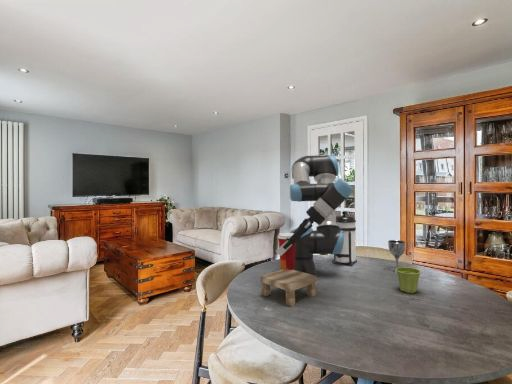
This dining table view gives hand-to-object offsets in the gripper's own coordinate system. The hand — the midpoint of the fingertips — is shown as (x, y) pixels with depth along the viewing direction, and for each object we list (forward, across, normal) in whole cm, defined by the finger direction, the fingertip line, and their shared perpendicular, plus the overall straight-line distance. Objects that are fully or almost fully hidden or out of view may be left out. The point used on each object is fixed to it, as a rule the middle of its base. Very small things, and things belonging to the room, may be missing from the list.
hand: (279, 251), depth 117 cm
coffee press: (-9, +53, -34) cm, 64 cm away
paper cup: (+3, 0, -7) cm, 8 cm away
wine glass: (-27, +44, -52) cm, 73 cm away
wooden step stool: (+10, 0, -15) cm, 18 cm away
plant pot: (-24, +13, -50) cm, 57 cm away
